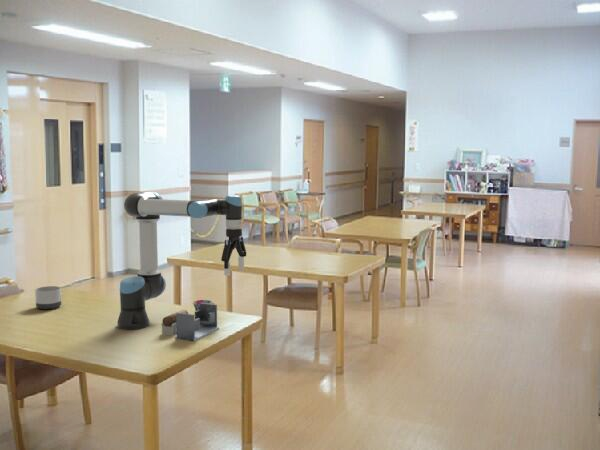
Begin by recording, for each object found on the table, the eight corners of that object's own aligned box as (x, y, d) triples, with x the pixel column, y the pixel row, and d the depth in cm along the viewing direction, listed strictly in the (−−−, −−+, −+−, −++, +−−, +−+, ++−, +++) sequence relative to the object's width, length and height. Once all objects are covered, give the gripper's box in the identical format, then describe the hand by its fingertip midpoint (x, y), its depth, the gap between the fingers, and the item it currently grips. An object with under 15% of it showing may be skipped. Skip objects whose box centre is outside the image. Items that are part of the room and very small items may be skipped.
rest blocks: (161, 333, 295) (161, 323, 294) (178, 326, 308) (178, 315, 307) (173, 335, 292) (173, 324, 292) (189, 327, 305) (189, 317, 305)
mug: (199, 326, 307) (199, 305, 306) (189, 322, 314) (189, 301, 313) (220, 322, 315) (219, 301, 314) (209, 318, 322) (209, 298, 321)
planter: (44, 304, 349) (43, 285, 348) (65, 305, 348) (65, 286, 346) (31, 310, 337) (30, 291, 336) (53, 311, 335) (52, 291, 334)
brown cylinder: (170, 327, 292) (170, 317, 291) (162, 326, 294) (162, 316, 293) (188, 319, 306) (188, 310, 305) (180, 318, 307) (180, 309, 307)
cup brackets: (176, 338, 288) (176, 313, 286) (201, 326, 307) (200, 302, 305) (193, 341, 284) (193, 315, 283) (217, 328, 303) (216, 304, 302)
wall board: (174, 338, 288) (174, 336, 288) (199, 326, 307) (199, 324, 307) (195, 341, 284) (195, 339, 284) (219, 329, 303) (219, 327, 303)
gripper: (227, 231, 283) (228, 278, 285) (253, 225, 305) (253, 268, 308) (213, 230, 286) (213, 276, 288) (239, 224, 308) (239, 267, 311)
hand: (234, 272), depth 298 cm, fingers open, 13 cm apart
